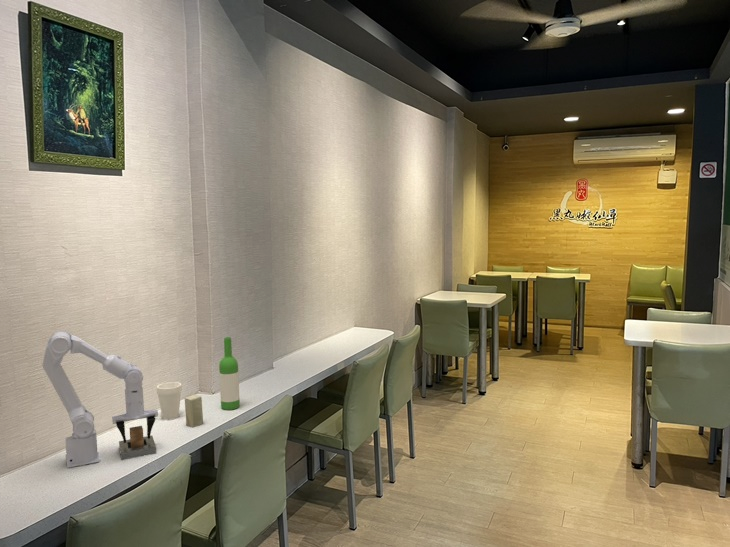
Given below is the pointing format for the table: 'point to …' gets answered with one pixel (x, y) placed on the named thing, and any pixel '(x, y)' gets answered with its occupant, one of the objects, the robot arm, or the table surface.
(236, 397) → the wine bottle
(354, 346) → the table surface
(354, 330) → the table surface
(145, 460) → the table surface
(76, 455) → the robot arm
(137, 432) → the peg
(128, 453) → the collar
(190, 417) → the box
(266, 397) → the table surface
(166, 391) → the foam cup
